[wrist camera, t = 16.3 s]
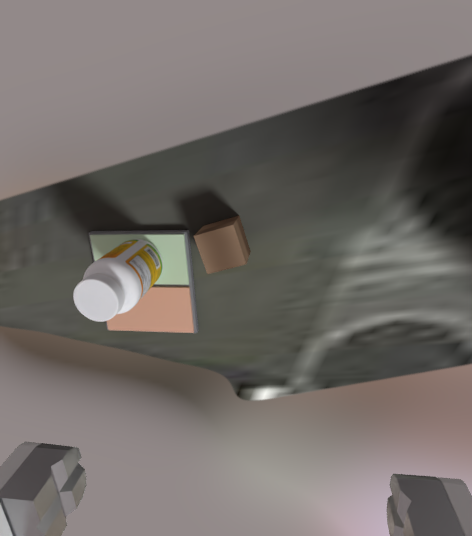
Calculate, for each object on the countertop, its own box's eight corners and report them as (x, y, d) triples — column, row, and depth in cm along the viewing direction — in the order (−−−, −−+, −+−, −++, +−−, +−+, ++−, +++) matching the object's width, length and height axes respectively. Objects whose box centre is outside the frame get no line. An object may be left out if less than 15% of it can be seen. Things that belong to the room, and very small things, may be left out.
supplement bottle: (111, 273, 40) (60, 315, 31) (122, 230, 38) (70, 261, 29) (157, 291, 40) (118, 338, 31) (170, 249, 38) (132, 285, 29)
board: (188, 230, 38) (186, 232, 37) (198, 329, 42) (196, 334, 41) (92, 231, 40) (86, 233, 39) (110, 326, 44) (106, 331, 43)
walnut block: (239, 215, 37) (233, 224, 33) (250, 251, 38) (246, 264, 34) (203, 225, 38) (193, 235, 34) (215, 260, 39) (207, 274, 35)
